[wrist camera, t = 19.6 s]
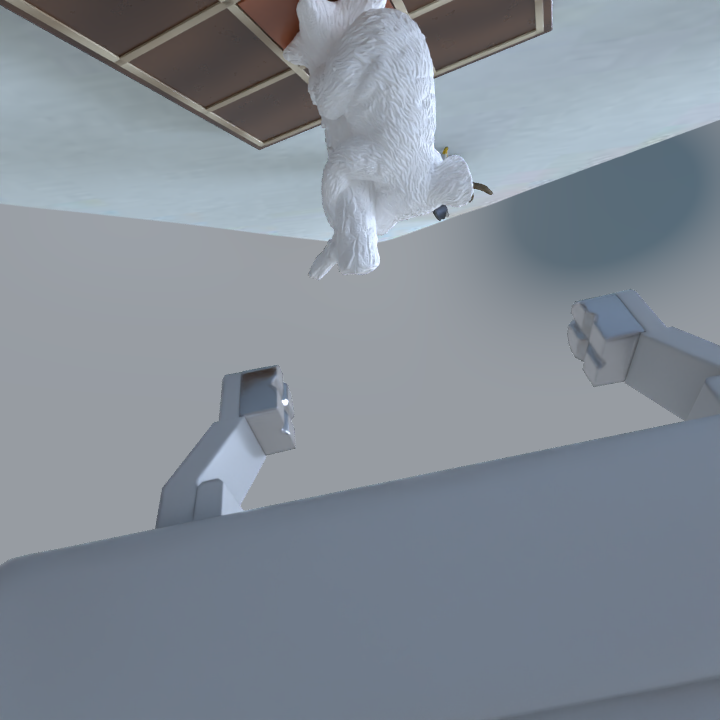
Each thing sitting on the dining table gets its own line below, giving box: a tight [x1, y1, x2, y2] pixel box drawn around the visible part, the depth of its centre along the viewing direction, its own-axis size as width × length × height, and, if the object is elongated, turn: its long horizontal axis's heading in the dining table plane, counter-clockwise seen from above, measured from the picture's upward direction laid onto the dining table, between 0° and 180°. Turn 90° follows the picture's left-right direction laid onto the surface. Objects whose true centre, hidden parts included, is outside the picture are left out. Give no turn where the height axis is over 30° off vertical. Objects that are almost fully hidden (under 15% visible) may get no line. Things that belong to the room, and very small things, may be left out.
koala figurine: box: [283, 0, 473, 280], centre depth 23 cm, size 8×7×12 cm
